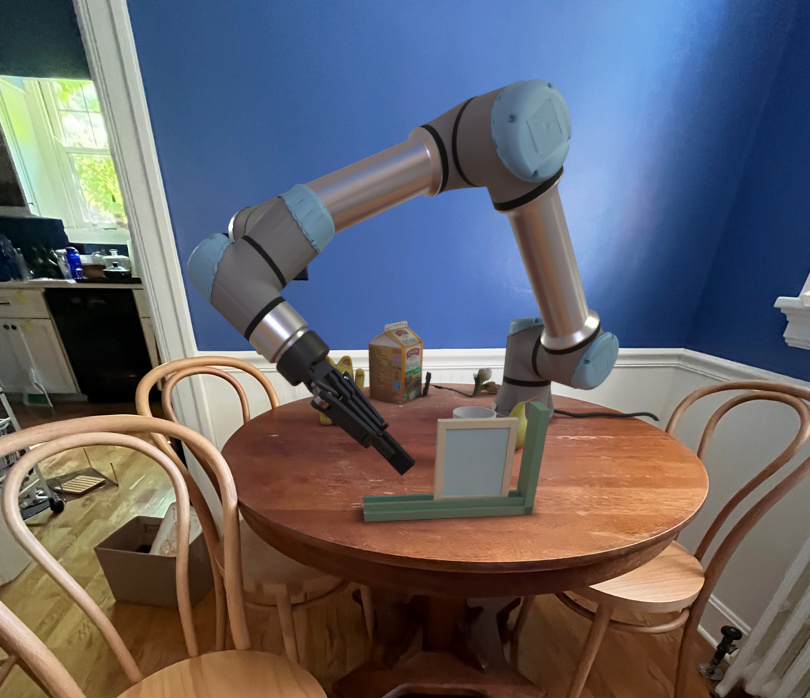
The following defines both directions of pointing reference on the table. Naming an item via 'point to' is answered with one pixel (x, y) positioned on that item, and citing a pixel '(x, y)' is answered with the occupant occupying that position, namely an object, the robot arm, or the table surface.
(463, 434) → the window pane
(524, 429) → the fruit
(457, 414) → the cup
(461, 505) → the green l-shaped bracket
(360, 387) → the figurine
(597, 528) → the table surface
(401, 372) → the milk carton
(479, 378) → the artificial flower
